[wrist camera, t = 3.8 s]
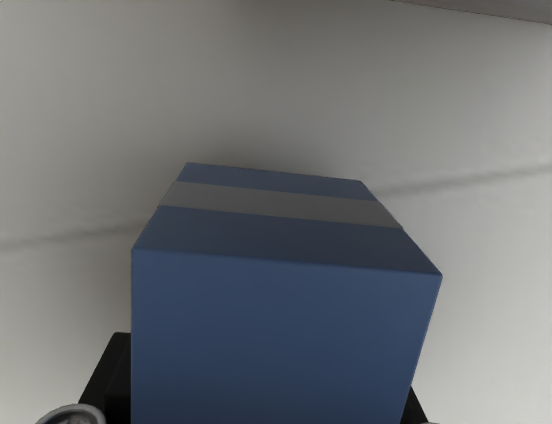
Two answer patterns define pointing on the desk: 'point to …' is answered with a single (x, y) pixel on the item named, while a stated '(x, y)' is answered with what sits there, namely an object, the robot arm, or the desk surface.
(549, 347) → the desk surface
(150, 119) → the desk surface
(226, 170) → the block
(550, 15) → the walnut crate
